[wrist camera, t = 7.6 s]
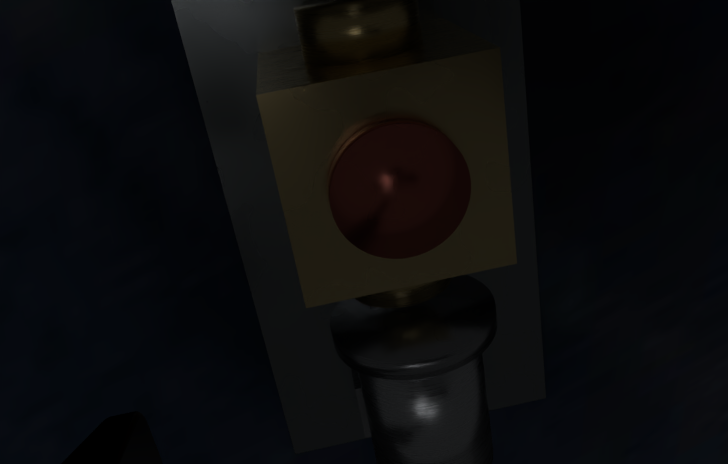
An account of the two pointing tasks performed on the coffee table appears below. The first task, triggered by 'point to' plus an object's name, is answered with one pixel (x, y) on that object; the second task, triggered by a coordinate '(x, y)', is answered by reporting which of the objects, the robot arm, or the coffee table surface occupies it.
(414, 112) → the brass valve
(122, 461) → the robot arm
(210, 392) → the coffee table surface
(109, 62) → the coffee table surface
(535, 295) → the plate with two spools
